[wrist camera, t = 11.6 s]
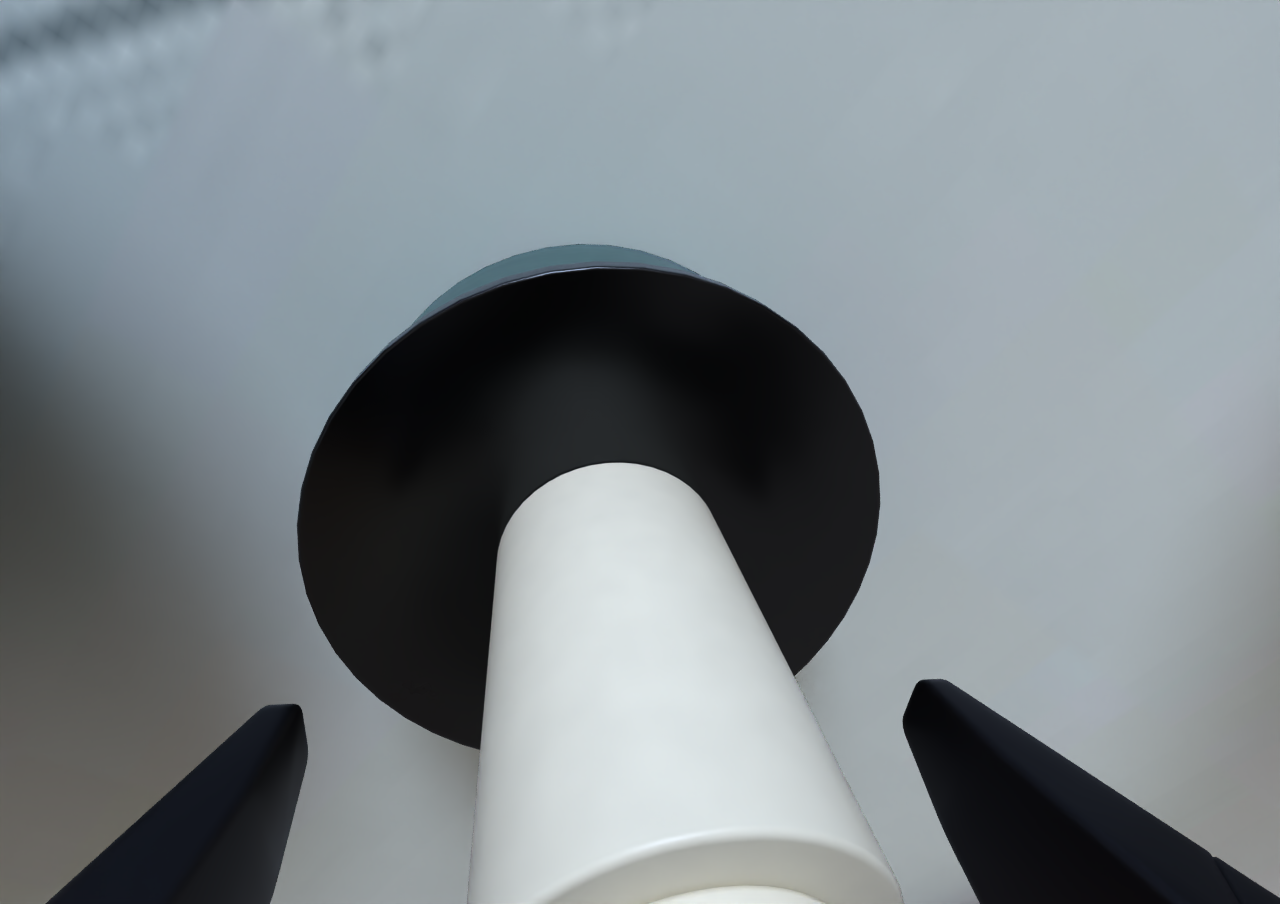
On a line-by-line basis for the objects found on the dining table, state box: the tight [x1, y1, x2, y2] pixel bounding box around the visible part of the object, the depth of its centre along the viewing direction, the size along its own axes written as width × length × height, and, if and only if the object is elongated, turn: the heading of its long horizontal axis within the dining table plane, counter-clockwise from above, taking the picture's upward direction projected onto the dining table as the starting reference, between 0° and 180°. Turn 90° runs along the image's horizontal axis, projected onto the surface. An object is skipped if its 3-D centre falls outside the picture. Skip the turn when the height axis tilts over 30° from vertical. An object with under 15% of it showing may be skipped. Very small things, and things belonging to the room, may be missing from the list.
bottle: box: [467, 463, 904, 904], centre depth 8 cm, size 4×4×10 cm
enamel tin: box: [297, 244, 880, 750], centre depth 14 cm, size 11×11×5 cm
